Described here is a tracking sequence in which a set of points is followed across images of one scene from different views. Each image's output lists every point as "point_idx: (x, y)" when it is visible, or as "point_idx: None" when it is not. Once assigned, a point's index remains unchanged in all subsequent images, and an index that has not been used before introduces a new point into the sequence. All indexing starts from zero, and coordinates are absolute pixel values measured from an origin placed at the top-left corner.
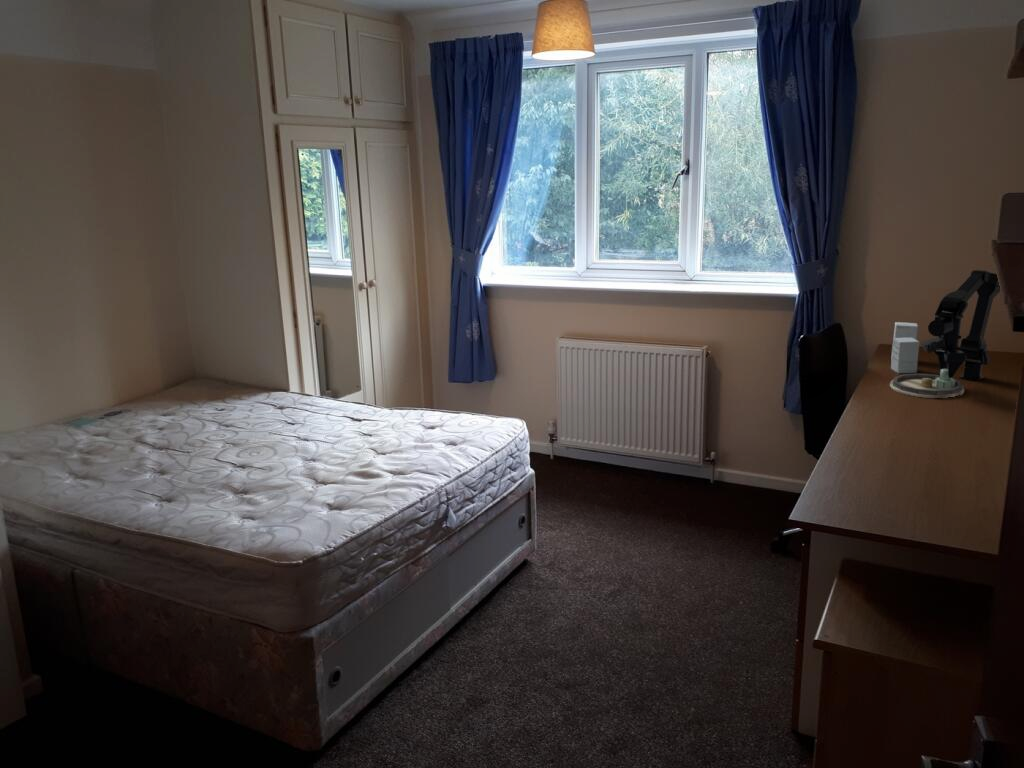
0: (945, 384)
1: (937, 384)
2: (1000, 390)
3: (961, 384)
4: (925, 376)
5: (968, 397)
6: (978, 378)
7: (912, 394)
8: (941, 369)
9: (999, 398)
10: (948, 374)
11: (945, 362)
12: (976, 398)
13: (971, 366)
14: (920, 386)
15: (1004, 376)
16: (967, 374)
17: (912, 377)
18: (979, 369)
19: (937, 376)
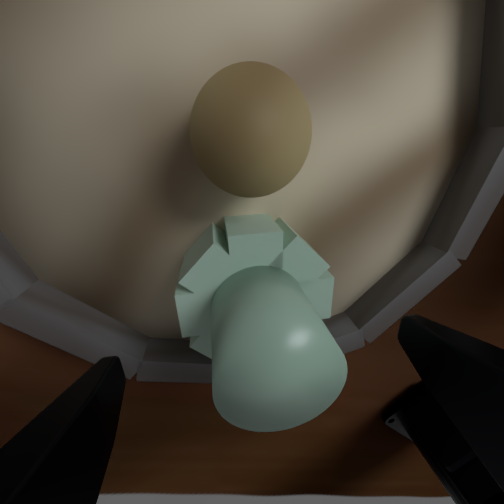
0: (177, 286)
1: (225, 229)
2: (238, 474)
3: (197, 382)
4: (467, 186)
5: (60, 365)
6: (404, 429)
7: None
8: (312, 341)
9: None
10: (73, 387)
11: (484, 439)
12: (52, 397)
13: (466, 481)
14: (217, 67)
15: (426, 482)
16: (429, 415)
17: (492, 65)
18: (441, 482)
19: (423, 269)
